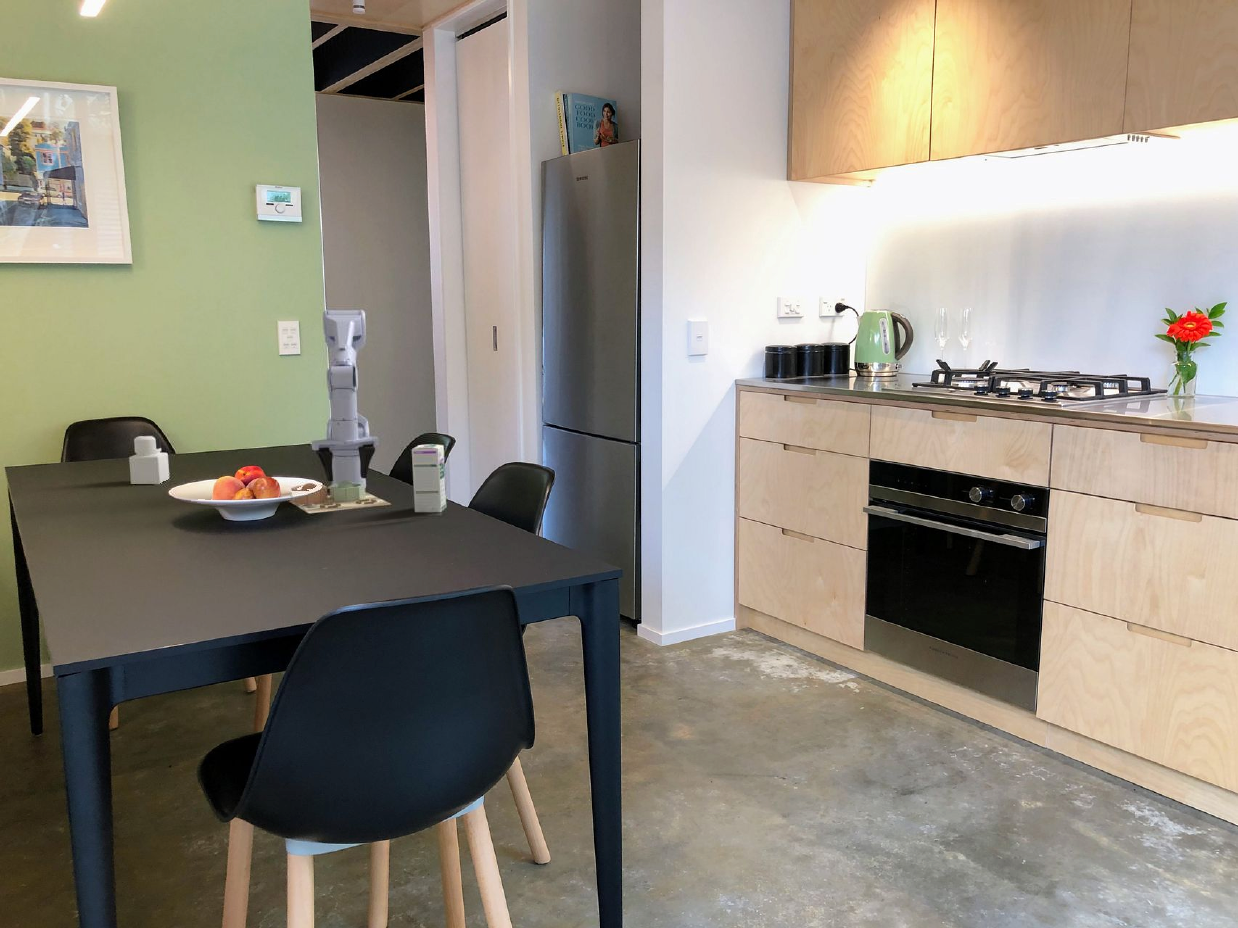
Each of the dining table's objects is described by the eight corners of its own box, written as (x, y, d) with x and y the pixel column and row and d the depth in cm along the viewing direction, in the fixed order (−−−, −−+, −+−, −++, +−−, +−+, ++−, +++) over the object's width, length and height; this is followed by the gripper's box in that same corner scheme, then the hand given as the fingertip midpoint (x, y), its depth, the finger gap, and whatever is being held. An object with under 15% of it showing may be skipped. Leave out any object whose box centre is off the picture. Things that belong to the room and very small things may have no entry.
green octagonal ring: (327, 497, 221) (326, 484, 220) (358, 494, 225) (357, 481, 224) (336, 502, 215) (336, 489, 214) (368, 499, 219) (368, 486, 218)
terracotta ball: (298, 499, 218) (298, 482, 217) (316, 498, 220) (316, 481, 219) (303, 502, 214) (303, 485, 214) (321, 501, 217) (321, 483, 216)
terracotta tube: (289, 499, 218) (288, 486, 218) (321, 496, 222) (320, 483, 222) (297, 505, 212) (296, 491, 212) (330, 501, 216) (329, 488, 216)
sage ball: (337, 499, 220) (332, 483, 219) (353, 493, 222) (348, 477, 221) (342, 502, 217) (337, 486, 216) (359, 496, 219) (354, 480, 218)
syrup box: (441, 515, 205) (439, 447, 202) (413, 515, 205) (411, 447, 202) (446, 510, 210) (444, 444, 208) (419, 510, 210) (417, 444, 208)
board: (287, 503, 218) (286, 498, 218) (365, 495, 228) (365, 490, 228) (309, 516, 203) (308, 511, 203) (391, 507, 213) (391, 502, 213)
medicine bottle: (141, 480, 250) (137, 434, 248) (170, 479, 251) (166, 433, 249) (130, 485, 243) (126, 437, 241) (160, 484, 244) (156, 437, 242)
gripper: (316, 423, 210) (319, 484, 212) (381, 419, 218) (384, 478, 220) (307, 420, 216) (310, 480, 218) (371, 416, 223) (373, 474, 226)
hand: (347, 479), depth 219 cm, fingers open, 7 cm apart
